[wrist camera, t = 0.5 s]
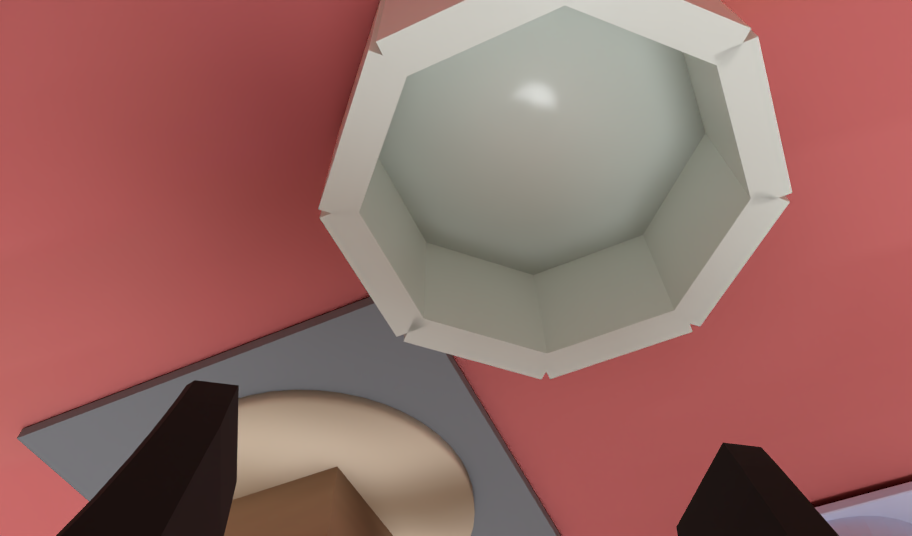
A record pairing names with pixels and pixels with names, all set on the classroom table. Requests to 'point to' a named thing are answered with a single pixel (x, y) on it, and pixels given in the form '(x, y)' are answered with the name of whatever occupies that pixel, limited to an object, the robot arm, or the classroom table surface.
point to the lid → (343, 470)
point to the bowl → (553, 174)
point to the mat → (312, 368)
